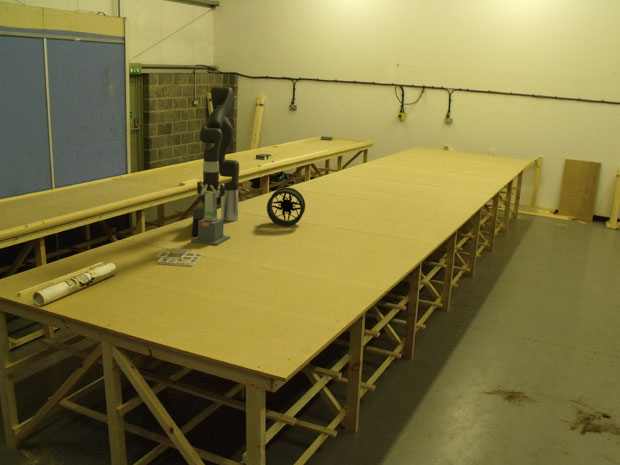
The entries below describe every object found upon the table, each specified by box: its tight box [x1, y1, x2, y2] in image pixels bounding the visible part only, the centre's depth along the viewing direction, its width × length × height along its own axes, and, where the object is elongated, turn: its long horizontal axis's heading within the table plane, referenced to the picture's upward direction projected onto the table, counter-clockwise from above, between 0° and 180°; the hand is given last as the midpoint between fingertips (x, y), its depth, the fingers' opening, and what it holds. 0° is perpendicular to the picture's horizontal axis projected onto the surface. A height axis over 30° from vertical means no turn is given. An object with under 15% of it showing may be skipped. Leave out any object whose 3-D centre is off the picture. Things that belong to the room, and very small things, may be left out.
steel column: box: [204, 191, 218, 222], centre depth 298 cm, size 4×4×16 cm
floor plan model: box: [155, 247, 203, 267], centre depth 273 cm, size 19×25×2 cm
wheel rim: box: [266, 186, 306, 228], centre depth 333 cm, size 20×9×20 cm, turn 84°
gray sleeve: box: [190, 218, 231, 246], centre depth 301 cm, size 14×14×10 cm
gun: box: [191, 206, 205, 236], centre depth 320 cm, size 7×29×15 cm, turn 2°
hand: (210, 203), depth 297 cm, fingers open, 7 cm apart
